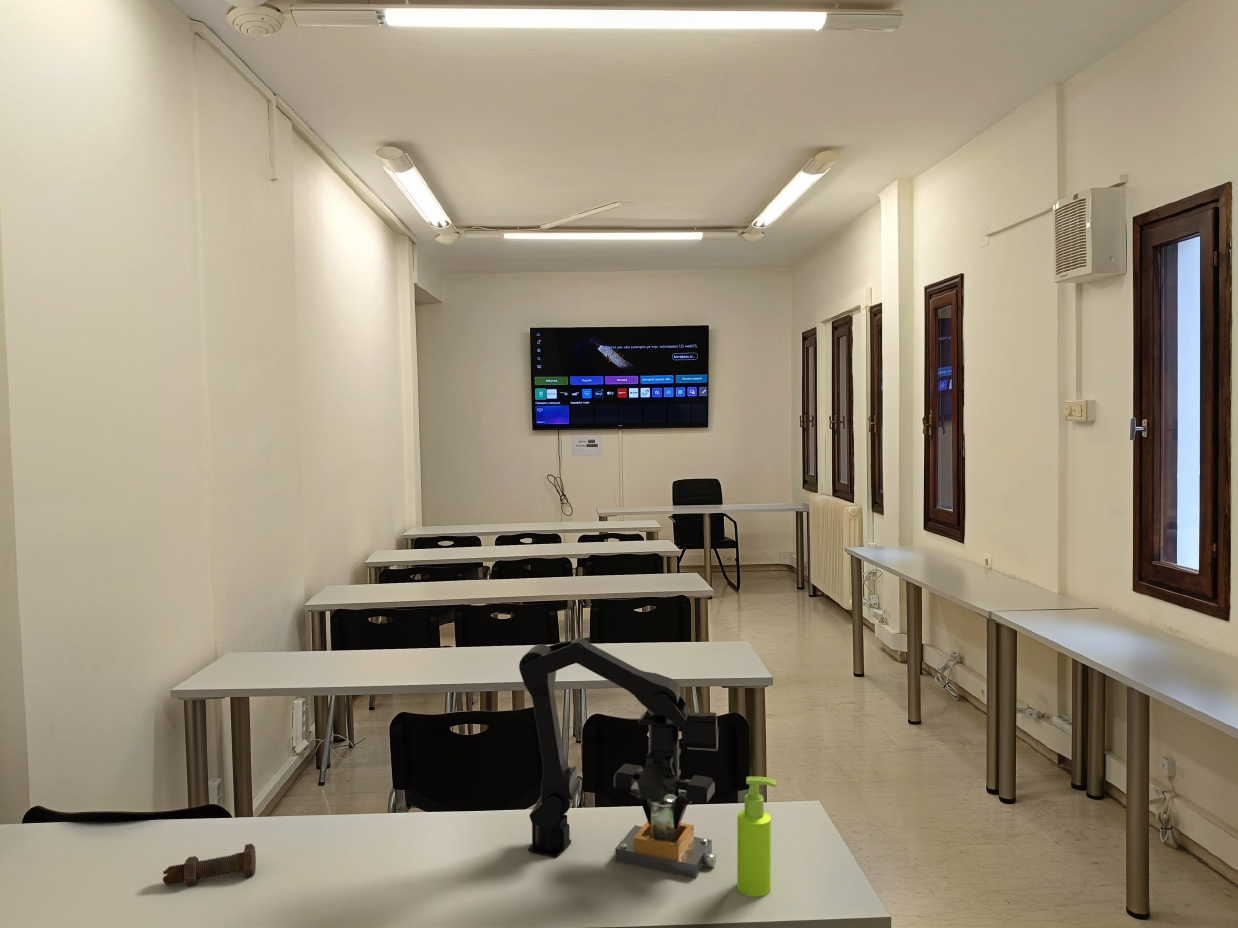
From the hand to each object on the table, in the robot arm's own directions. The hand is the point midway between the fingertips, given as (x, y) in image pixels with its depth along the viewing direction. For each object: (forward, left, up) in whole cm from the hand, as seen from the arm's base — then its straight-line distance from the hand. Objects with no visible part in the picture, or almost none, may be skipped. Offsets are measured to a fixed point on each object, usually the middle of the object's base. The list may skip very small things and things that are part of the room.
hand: (663, 826), depth 162 cm
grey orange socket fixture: (0, 0, -6) cm, 6 cm away
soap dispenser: (+19, -4, -6) cm, 20 cm away
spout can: (0, -1, -1) cm, 2 cm away
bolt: (-74, -39, -6) cm, 84 cm away
